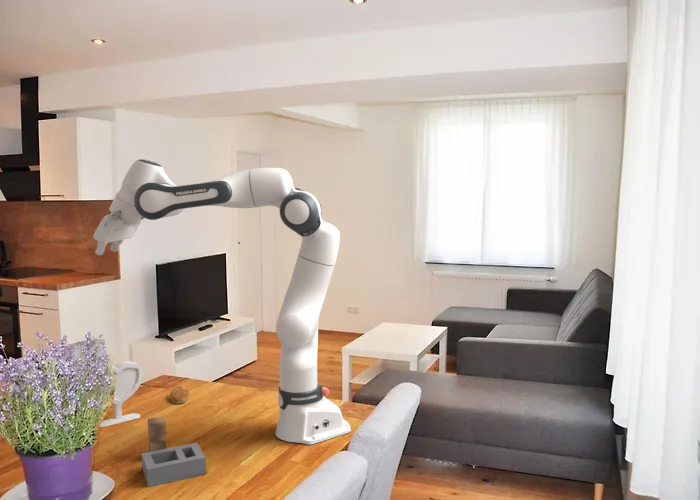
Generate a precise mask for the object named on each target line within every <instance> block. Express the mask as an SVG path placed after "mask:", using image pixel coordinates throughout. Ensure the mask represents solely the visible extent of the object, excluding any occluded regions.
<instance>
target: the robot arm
mask: <svg viewBox="0 0 700 500" xmlns="http://www.w3.org/2000/svg"><path fill="white" fill-rule="evenodd" d="M210 206H212V207H222V208H231V209H254V208H262V207H276V208H278V209H279V216H280V219H281V221H282V223H283V224H284V225H285V226H286V227H287V228H288V229H290V230H291V231H293V232H295V233H296V234H298V235H299V236H301V244H300V248H299V252H298V255H297V258H296V261H295V264H294V269H293V272H292V275H291V278H290V281H289V284H288V287H287V289H286V292H285V294H284V295H285V296H284V298H283V301H282V304H281V307H280V310H279V314H278V315H277V316H278V317H277V320H276V323H275V333H276V336H277V338H278V341H280V343H281V344H280V356H279V386H278V394H277V395H278V396H277V397H278V399H277V400H278V406H279V412H278V414H279V415H278V419H277V424H276V425H277V426H276V429H275V433H274V434H275V436H276V438H277V439H280V440H282V441H284V442H288V443H301V444H304V445H314V444H317V443H321V442H324V441H326V440H327V441H328V440H330V439H333V438H336V437H339V436H342V435H346V434H349V433H350V432H351V430H352V429H351V425H350V423H349V422H348V421H347V420H345V419H344V418H343V414H342V411H341V409H340V407H339V406H338V405H336V404H335V403H334V402H333V401H331V400H330V399H328V398H327V397H325V396H329V394H330V390H329V389H328V388H327V387H326V386H323V385H320V384H319V383H318V348H319V347H318V346H319V345H318V343H319V318H320V315H321V312H322V308H323V306H324V302H325V299H326V296H327V292H328V289H329V286H330V283H331V279H332V276H333V273H334V269H335V267H336V266H335V265H336V262H337V259H338V254H339V250H340V242H341V233H340V230H338V228H337V227H336V226H335V225H333V224H331V223H329V222H326V221H325V220H323V218H322V205H321V202H320V201H319V199H318V198H317V197H316V196H315V195H314V194H312V193H310V192H308V191H306V190H302V189H300V188H298V187H295V186H294V182H293V178H292V176H291V174H290V173H289V172H288V170H286V169H284V168H281V167H258V168H257V167H256V168H249V169H244V170H243V169H242V170H240V171H235V172H232V173H229V174H226V175H224V176H221V177H218V178H215V179H212V180H209V181H205V182H201V183H192V184H186V185H185V184H183V185H176V184H175V183H174V182H173V181H172V180H171V179H170V178H169V176H168V175H167V174H166V172H165V170H164V167H163V165H161V164H159V163H157V162H155V161H151V160H147V159H141V158H140V159H137V160H135V161H133V163H132V164H131V166H130V167H129V169H128V170H127V172H126V174H125V176H124V178H123V180H122V182H121V187H120V189H119V190H118V192H117V193H116V194H115V196H114V197H113V200H112V203H111V204H110V207H109V209H108V210H109V211H110V213H109V214H106V215H104V217H103V218H102V219H101V221H100V223H99V224H98V226H97V228H96V229H95V231H94V234H93V239H94V240H95V241H97V245H96V246H97V247H96V249H95V254H96V255H98V256H102V255H103V254H104V253H105V251H106V249H105V248H106V246H107V245H108V243H112V244H111V245H110V247H109V250H110V251H111V252H114V253H115V252H117V251H118V250H119V247H120V246H121V245H122V244H123V243H124V241H125V240H127V239H128V240H129V239H131V238H132V237H134V235H135V233H136V232H137V230H138V228H139V226H140V225H141V223H142V220H145V219H146V220H149V221H156V220H159V219H162V218H163V219H164V218H169V217H170V218H171V217H174V216H177V215H179V214H180V213H181V212H182V211H183V210H184V209H191V208H197V207H210Z"/></svg>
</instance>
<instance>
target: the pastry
mask: <svg viewBox="0 0 700 500" xmlns="http://www.w3.org/2000/svg"><path fill="white" fill-rule="evenodd" d="M168 398H169V400H170V401H171V403H173V404H175V405H178V404H184V403H185V404H186V402H187V401H188V400H189V398H190V390H189V389H188V388H187V387H185V386H180V385H179V386H177V387H173V388H172V390H171V391H170V393H169V396H168Z"/></svg>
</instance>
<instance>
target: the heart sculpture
mask: <svg viewBox="0 0 700 500" xmlns="http://www.w3.org/2000/svg"><path fill="white" fill-rule="evenodd" d="M112 371H113V373H114V375H115V377H116V379H117V385H116V393H115V396H114V401H113V403H112V404H114V417H112V418H107V419H103V420H102V421H103V422H101V424H100V425H101V426H100V425H99V426H100V428H104V427H105V428H106V427H108V426H112V425H116V424H120V423H123V422H128V421H131V420H134V419H139V418H141V414H139V413H136V412H131V413H128V414H124V415H123V409H122V408H123V407H122V405H123V404H124V403H125V402H126V401H127V400H128V399H129V398H131V397H132V396H133V395H134V394H135V392H137V390H138V389H139V387H140V385H141V384H142V381H143V377H144V371H143V366H141V365H140V364H139V363H137V362H135V361H128V360H127V361H120V362H118V363H117V364H115V365H112ZM99 426H98V427H99Z"/></svg>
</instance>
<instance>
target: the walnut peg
mask: <svg viewBox="0 0 700 500" xmlns="http://www.w3.org/2000/svg"><path fill="white" fill-rule="evenodd" d="M166 430H167V429H166V420H165V418H164V416H157V417H152V418H148V419H147V435H148V452H151V451H156V450H161V449H167V432H166Z"/></svg>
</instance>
